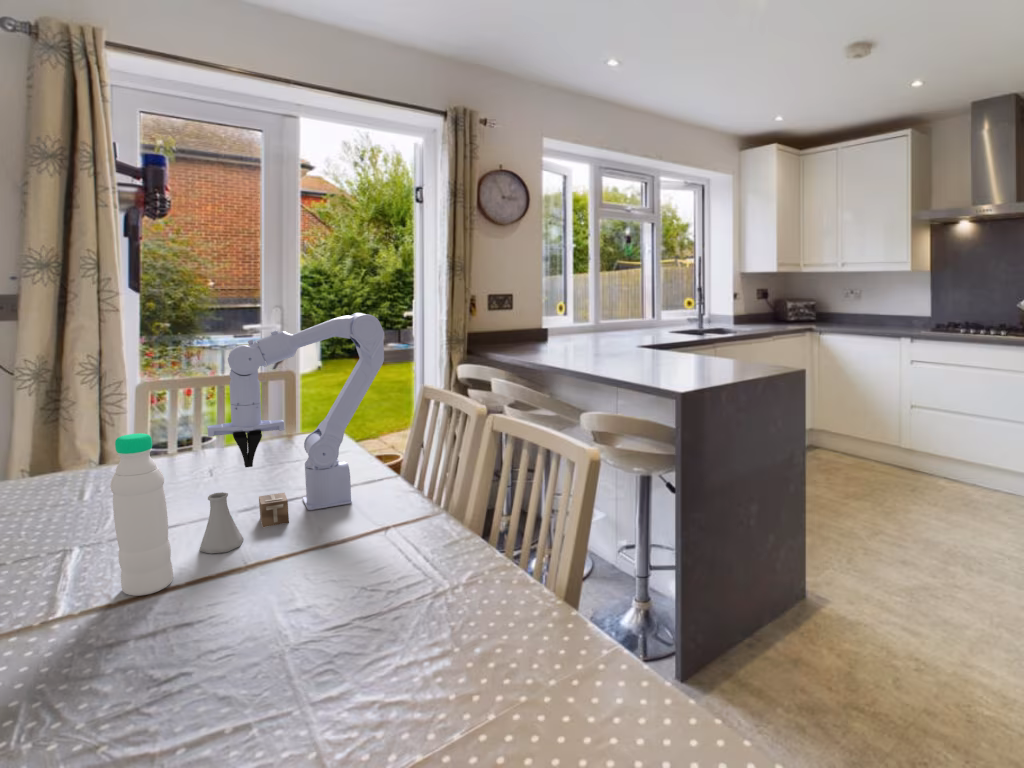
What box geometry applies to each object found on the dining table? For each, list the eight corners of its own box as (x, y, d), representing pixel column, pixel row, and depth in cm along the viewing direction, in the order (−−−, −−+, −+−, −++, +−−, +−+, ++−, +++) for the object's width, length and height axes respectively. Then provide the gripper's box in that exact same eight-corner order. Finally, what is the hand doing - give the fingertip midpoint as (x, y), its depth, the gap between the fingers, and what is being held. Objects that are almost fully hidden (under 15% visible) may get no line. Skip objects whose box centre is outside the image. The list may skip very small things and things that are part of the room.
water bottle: (161, 571, 97) (147, 428, 93) (182, 583, 93) (168, 434, 89) (114, 588, 91) (96, 437, 87) (134, 602, 87) (117, 444, 83)
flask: (229, 555, 103) (225, 503, 101) (191, 554, 103) (186, 501, 102) (250, 538, 110) (247, 489, 108) (214, 537, 111) (210, 487, 109)
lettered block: (285, 514, 122) (284, 491, 121) (289, 523, 117) (287, 499, 117) (260, 519, 120) (258, 495, 119) (262, 528, 115) (261, 503, 114)
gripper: (207, 409, 112) (210, 475, 114) (285, 403, 119) (287, 466, 121) (205, 402, 118) (209, 466, 120) (280, 398, 125) (282, 458, 127)
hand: (248, 466), depth 121 cm, fingers closed
